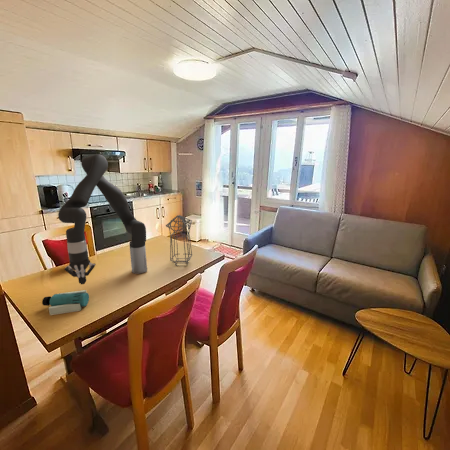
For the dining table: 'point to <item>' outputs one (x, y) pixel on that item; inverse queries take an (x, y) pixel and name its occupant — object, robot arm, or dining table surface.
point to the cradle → (66, 306)
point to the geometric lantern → (178, 236)
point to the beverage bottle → (66, 299)
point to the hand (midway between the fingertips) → (82, 283)
